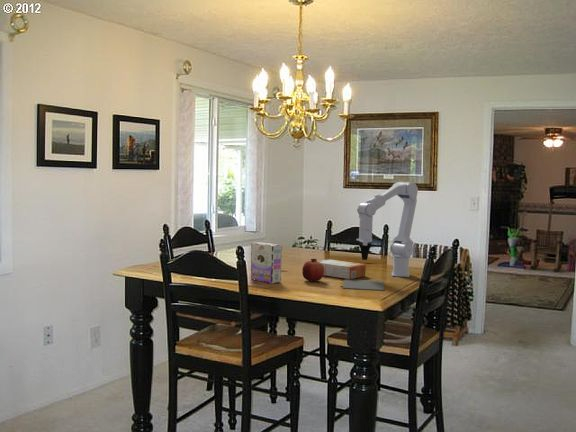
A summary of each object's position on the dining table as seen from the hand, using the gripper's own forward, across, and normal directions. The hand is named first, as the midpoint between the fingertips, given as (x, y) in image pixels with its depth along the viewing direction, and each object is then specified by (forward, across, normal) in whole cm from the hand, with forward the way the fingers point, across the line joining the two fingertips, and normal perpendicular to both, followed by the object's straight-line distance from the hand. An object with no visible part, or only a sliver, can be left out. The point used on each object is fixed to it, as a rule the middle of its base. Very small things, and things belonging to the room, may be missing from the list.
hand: (364, 259), depth 274 cm
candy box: (+9, +17, -42) cm, 46 cm away
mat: (+9, +14, 0) cm, 17 cm away
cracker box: (+6, -2, -2) cm, 7 cm away
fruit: (+9, +12, -22) cm, 27 cm away
